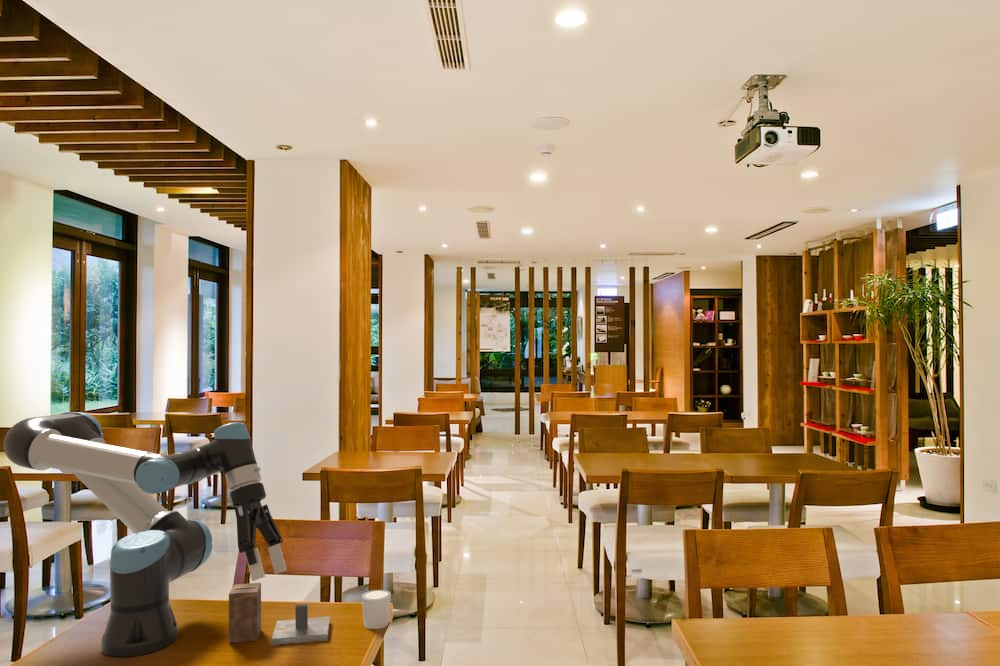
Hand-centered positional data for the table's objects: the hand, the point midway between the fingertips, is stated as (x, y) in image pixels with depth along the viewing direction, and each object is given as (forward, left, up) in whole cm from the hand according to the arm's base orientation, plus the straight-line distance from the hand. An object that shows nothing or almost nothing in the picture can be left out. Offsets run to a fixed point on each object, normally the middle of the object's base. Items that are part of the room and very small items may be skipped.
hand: (270, 575), depth 158 cm
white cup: (+19, +14, -14) cm, 28 cm away
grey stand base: (+6, +3, -13) cm, 15 cm away
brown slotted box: (-5, -3, -13) cm, 15 cm away
